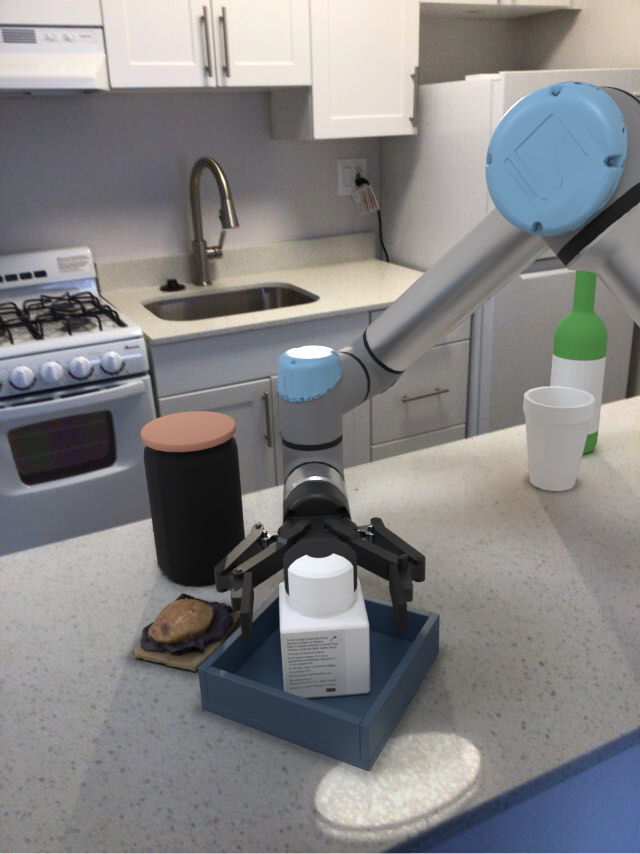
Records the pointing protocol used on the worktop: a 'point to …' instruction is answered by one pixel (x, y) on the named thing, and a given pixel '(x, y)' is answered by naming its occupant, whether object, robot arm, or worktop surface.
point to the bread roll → (186, 632)
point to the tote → (327, 716)
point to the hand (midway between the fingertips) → (324, 622)
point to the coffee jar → (193, 493)
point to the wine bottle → (582, 350)
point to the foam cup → (556, 434)
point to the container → (323, 621)
